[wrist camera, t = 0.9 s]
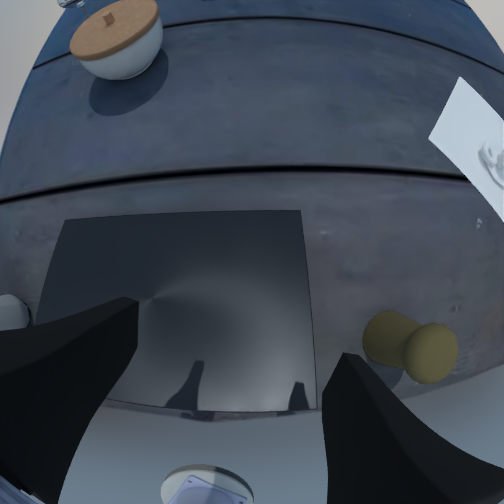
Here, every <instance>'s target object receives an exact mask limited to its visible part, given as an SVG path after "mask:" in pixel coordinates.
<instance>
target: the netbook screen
mask: <svg viewBox="0 0 504 504" xmlns="http://www.w3.org/2000/svg"><path fill="white" fill-rule="evenodd" d="M124 296H125V297H128V298H131V299H134V300H137V301H139V317H138V347H137V349H136V351H135V353H134V355H133V357H132V359H131V361H130V363H129V365H128V367H127V368H126V370H125V371H124V373H123V374H122V376H121V377H120V378H119V380H118V381H117V383H116V384H115V385H114V387H113V388H112V390H111V391H110V392H109V394H108V395H107V397H106V398H105V399H109V400H115V401H120V402H126V403H132V404H139V405H146V406H153V407H162V408H171V409H181V410H194V411H210V412H285V411H301V410H314V409H317V386H316V367H315V351H314V337H313V324H312V312H311V300H310V290H309V280H308V270H307V261H306V252H305V243H304V235H303V227H302V219H301V211H300V210H255V211H210V212H182V213H160V214H141V215H124V216H109V217H95V218H82V219H70V220H65V221H64V224H63V227H62V229H61V232H60V235H59V238H58V241H57V244H56V246H55V249H54V252H53V256H52V259H51V262H50V265H49V269H48V272H47V275H46V279H45V283H44V286H43V290H42V294H41V298H40V302H39V306H38V311H37V315H36V320H35V325H40V324H44V323H48V322H51V321H55V320H58V319H61V318H64V317H67V316H70V315H73V314H76V313H79V312H82V311H85V310H87V309H90V308H93V307H95V306H98V305H101V304H103V303H106V302H109V301H111V300H114V299H117V298H120V297H124ZM35 325H34V326H35Z"/></svg>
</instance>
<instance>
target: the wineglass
mask: <svg viewBox="0 0 504 504" xmlns="http://www.w3.org/2000/svg"><path fill="white" fill-rule="evenodd" d="M85 1H86V0H57V3H58V4H59V6H61V7H62V8H74V7H80V8H81V9H82V11H83V12H84V14H85V15H86V17H87V18H89V17H90V16H89V14H88V12H87V10H86V8H85V6H84V3H85Z"/></svg>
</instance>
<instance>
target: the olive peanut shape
mask: <svg viewBox="0 0 504 504" xmlns="http://www.w3.org/2000/svg"><path fill="white" fill-rule="evenodd" d="M363 347H364V350H365V353H366V355H367V356H368V357H369V358H370V359H371V360H372V361H374V362H376V363H379V364H383V365H387V366H391V367H395V368H399V369H403V370H405V371H406V372H407V374H408V375H409V376H410V377H411V378H412V379H413V380H415V381H417V382H419V383H421V384H433V383H436V382H439V381H441V380H442V379H444V378H445V377H446V376H448V374H449V373H450V372H451V371H452V369H453V368H454V366H455V364H456V361H457V358H458V352H459V345H458V341H457V338H456V336H455V334H454V333H453V331H452V330H451V329H449V328H448V327H446V326H445V325H443V324H436V323H431V324H427V325H422V324H420V323H418V322H416V321H414V320H411V319H409V318H407V317H405V316H403V315H401V314H399V313H397V312H393V311H386V312H382V313H380V314H378V315H376V316H375V317H374V318H373V319H372V320H371V321H370V322H369V323H368V325H367V327H366V329H365V332H364V336H363Z"/></svg>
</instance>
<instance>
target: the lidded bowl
mask: <svg viewBox="0 0 504 504" xmlns="http://www.w3.org/2000/svg"><path fill="white" fill-rule="evenodd" d="M162 40H163V27H162V22H161V18H160V15H159V9H158V6H157V3H156V2H155V1H154V0H121V1H118V2H115V3H113V4H110V5H108V6H106V7H104V8H103V9H101V10H99V11H98V12H96V13H95V14H93V15H92V16H91V17H89V18H88V19H87V20H86V21H85V22H84V23H83V24H82V25H81V26H80V27H79V28H78V29H77V30H76V32H75V33H74V35H73V37H72V39H71V42H70V51H71V53H72V54H73V56H74V57H75V58H77V59H78V60H79V62H80V63H81V64H82V65H83V67H85V68H86V69H87V70H88V71H89V72H91V73H92V74H93V75H95V76H98V77H100V78H103V79H109V80H117V79H118V80H125V79H130V78H133V77H135V76H137V75H139V74H141V73H142V72H144V71H145V70H146V69H147V68H148V67H149V66H150V65H151V63H152V62H153V60H154V58H155V57H156V55H157V54H158V52H159V50H160V47H161V44H162Z"/></svg>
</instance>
